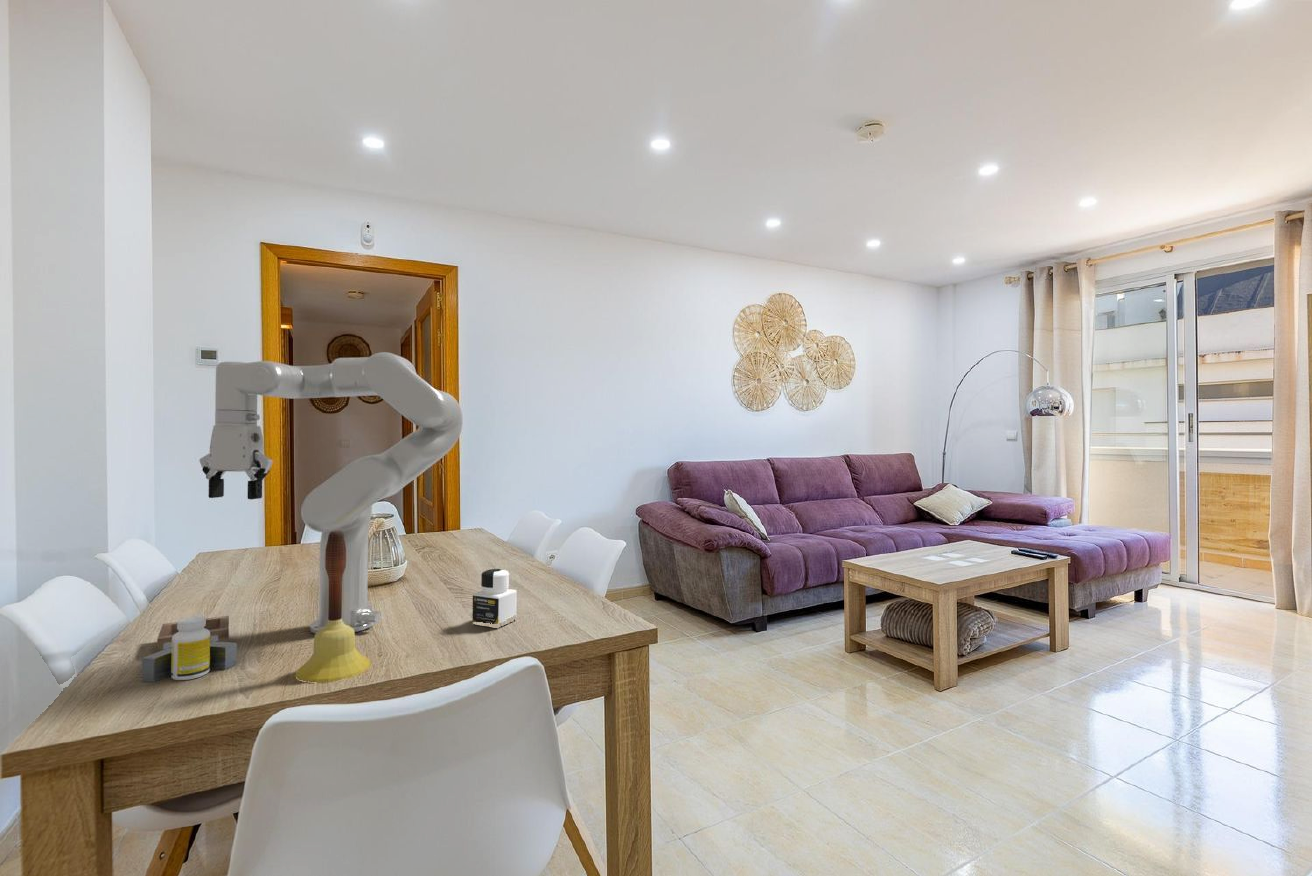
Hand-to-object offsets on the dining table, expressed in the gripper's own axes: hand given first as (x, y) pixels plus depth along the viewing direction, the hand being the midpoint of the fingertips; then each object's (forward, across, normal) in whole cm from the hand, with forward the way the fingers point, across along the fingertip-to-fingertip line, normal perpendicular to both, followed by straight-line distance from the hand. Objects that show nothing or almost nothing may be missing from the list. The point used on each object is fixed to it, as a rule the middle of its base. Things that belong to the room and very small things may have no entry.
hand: (235, 498), depth 132 cm
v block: (+28, -12, +21) cm, 37 cm away
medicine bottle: (+28, -53, -16) cm, 62 cm away
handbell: (+28, -37, +16) cm, 49 cm away
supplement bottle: (+28, -15, +23) cm, 40 cm away
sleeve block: (+28, -1, +10) cm, 30 cm away
